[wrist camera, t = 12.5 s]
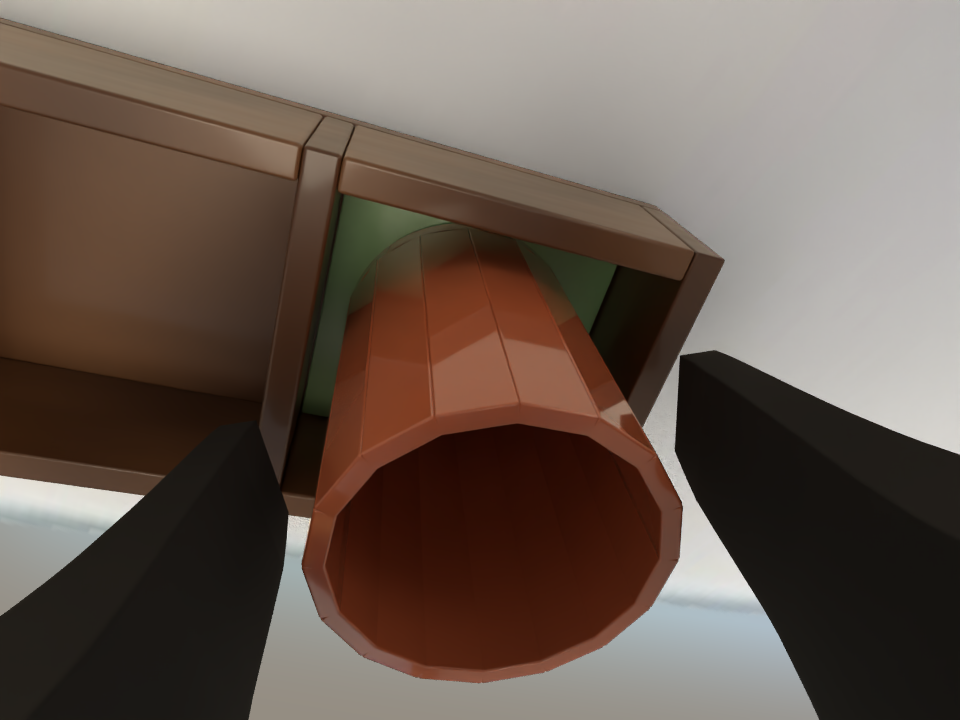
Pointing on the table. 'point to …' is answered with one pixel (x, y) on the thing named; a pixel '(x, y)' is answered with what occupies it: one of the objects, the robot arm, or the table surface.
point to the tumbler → (480, 471)
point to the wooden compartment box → (253, 261)
